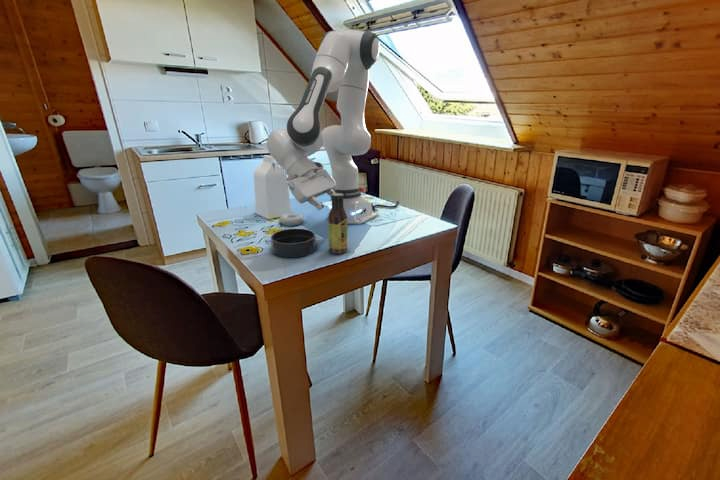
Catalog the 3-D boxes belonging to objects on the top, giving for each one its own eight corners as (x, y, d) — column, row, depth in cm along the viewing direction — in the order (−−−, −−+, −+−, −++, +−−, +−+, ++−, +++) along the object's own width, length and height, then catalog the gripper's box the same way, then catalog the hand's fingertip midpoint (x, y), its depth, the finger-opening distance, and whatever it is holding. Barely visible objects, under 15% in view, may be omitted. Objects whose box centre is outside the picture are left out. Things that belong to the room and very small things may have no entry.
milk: (255, 213, 159) (249, 155, 149) (278, 208, 166) (273, 153, 156) (268, 219, 150) (262, 158, 141) (291, 214, 158) (287, 156, 148)
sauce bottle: (344, 255, 115) (344, 197, 108) (326, 254, 116) (325, 196, 109) (349, 248, 121) (349, 192, 114) (332, 246, 122) (330, 191, 115)
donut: (304, 219, 151) (281, 219, 150) (304, 212, 150) (280, 211, 149) (302, 227, 142) (278, 227, 141) (302, 219, 140) (277, 219, 140)
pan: (298, 238, 129) (298, 225, 128) (324, 249, 120) (323, 235, 118) (263, 249, 119) (262, 235, 118) (288, 262, 110) (287, 247, 108)
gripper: (288, 172, 104) (317, 207, 104) (323, 162, 121) (348, 192, 121) (278, 185, 108) (306, 219, 107) (313, 173, 125) (338, 203, 124)
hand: (329, 204), depth 114 cm, fingers open, 8 cm apart
